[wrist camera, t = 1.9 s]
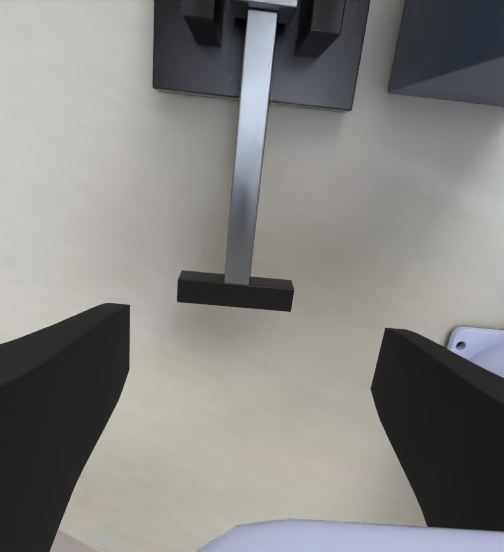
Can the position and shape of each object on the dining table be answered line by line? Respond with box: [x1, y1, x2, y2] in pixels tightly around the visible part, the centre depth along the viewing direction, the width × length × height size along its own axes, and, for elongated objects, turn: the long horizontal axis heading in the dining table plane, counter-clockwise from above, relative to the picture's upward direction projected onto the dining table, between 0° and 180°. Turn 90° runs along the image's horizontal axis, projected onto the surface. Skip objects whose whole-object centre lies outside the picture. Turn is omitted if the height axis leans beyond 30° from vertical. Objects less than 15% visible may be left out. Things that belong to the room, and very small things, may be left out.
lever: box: [177, 0, 299, 312], centre depth 15 cm, size 14×5×2 cm, turn 174°
